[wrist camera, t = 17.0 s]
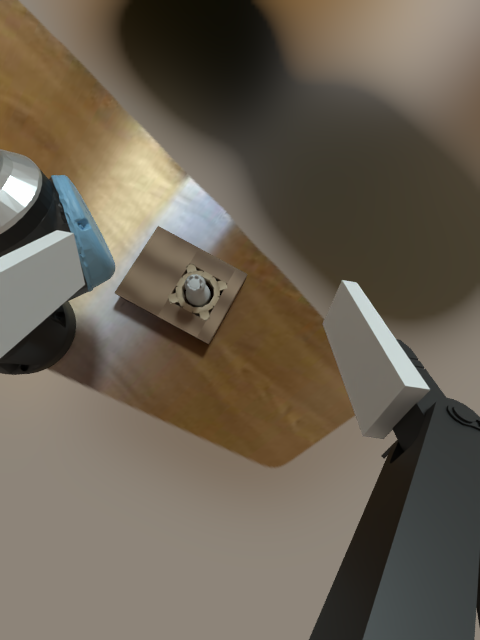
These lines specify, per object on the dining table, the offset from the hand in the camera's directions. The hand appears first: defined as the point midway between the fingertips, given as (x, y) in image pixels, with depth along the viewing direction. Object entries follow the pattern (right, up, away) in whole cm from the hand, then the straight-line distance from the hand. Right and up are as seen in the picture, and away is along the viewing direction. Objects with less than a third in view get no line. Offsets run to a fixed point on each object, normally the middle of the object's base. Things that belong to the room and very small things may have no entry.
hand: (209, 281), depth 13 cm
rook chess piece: (-6, +2, +34) cm, 34 cm away
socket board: (-9, +4, +33) cm, 35 cm away
